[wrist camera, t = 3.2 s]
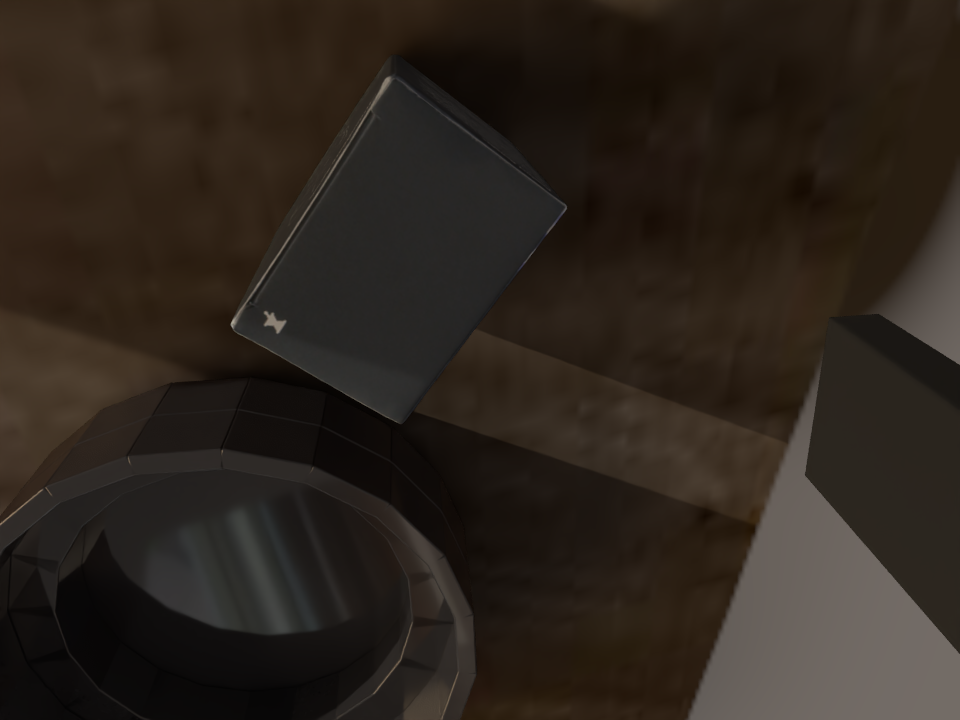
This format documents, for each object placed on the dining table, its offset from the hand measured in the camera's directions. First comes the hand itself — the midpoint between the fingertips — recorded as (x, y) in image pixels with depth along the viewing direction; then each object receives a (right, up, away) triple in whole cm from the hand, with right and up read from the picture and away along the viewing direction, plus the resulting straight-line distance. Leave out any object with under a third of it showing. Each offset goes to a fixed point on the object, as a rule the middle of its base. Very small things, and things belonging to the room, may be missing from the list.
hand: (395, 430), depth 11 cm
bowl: (-9, -8, +24) cm, 27 cm away
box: (-2, +8, +18) cm, 20 cm away
